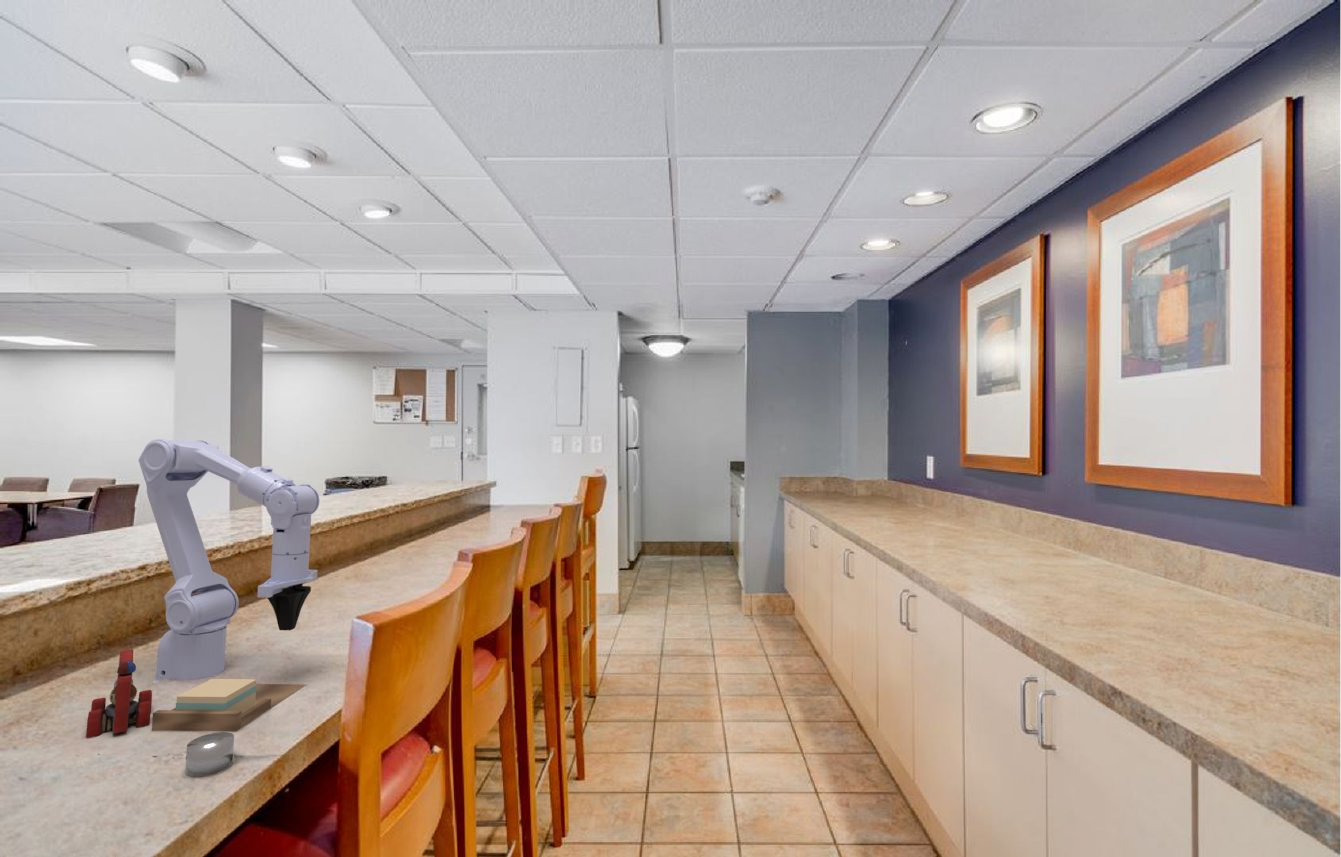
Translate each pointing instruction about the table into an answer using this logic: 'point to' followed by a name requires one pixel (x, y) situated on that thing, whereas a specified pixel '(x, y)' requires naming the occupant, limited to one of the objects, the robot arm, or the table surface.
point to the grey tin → (209, 754)
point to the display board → (223, 712)
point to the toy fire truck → (120, 703)
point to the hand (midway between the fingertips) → (287, 629)
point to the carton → (219, 696)
